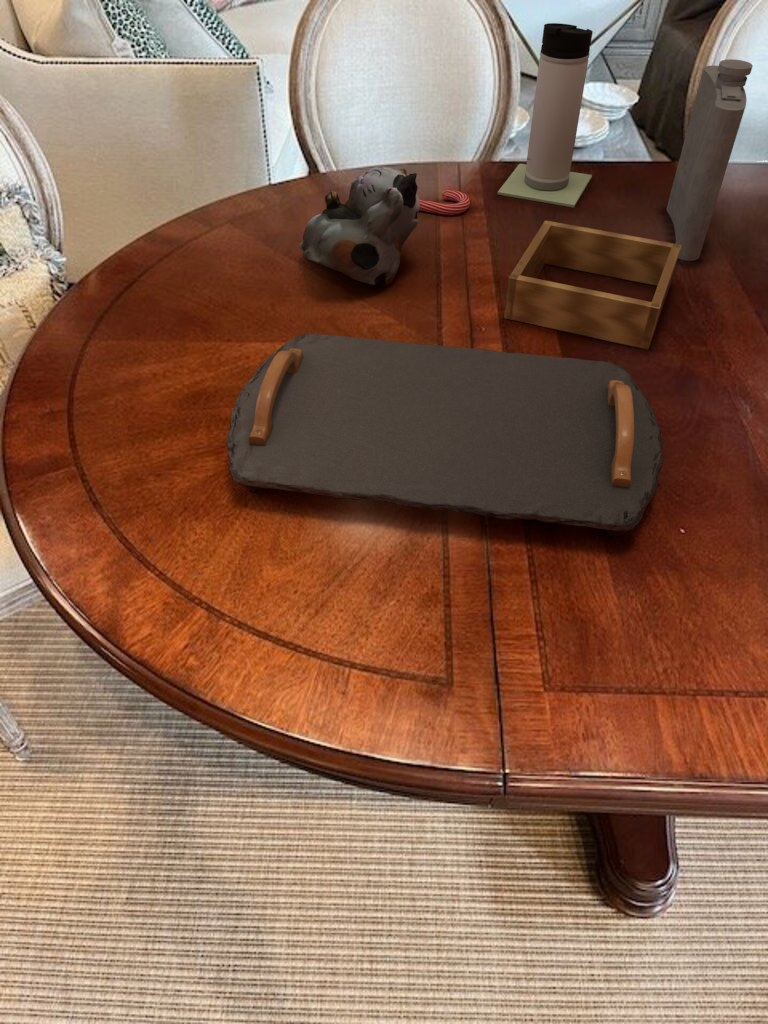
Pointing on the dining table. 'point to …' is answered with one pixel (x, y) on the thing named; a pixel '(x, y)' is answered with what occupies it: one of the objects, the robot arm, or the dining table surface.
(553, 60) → the travel mug
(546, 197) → the placemat
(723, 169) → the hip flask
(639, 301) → the wooden box
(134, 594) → the dining table surface
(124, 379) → the dining table surface
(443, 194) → the candy cane
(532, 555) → the dining table surface
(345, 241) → the lucky cat figurine
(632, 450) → the serving tray
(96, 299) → the dining table surface
